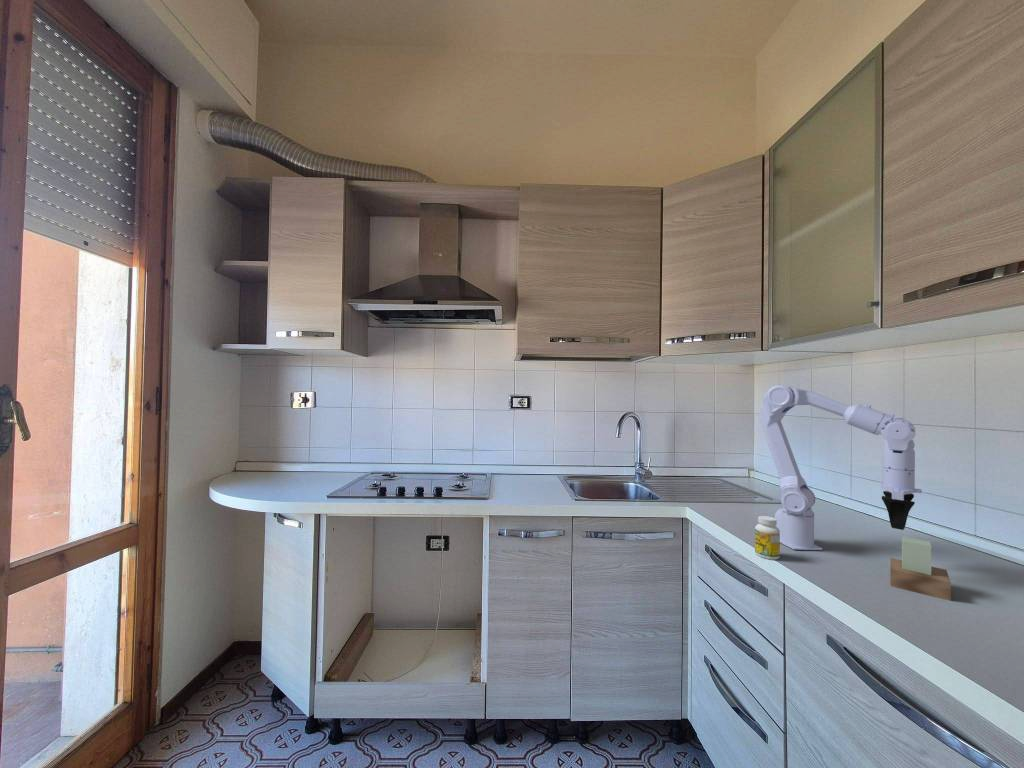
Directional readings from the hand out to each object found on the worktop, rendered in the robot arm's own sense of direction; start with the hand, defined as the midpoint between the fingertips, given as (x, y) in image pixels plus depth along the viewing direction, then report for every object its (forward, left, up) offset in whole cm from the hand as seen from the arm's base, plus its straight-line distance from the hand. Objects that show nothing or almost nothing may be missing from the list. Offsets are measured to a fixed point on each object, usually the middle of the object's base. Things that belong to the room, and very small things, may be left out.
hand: (897, 525), depth 100 cm
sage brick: (+9, -5, -7) cm, 12 cm away
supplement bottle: (-7, -27, -11) cm, 30 cm away
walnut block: (+9, -4, -11) cm, 15 cm away
